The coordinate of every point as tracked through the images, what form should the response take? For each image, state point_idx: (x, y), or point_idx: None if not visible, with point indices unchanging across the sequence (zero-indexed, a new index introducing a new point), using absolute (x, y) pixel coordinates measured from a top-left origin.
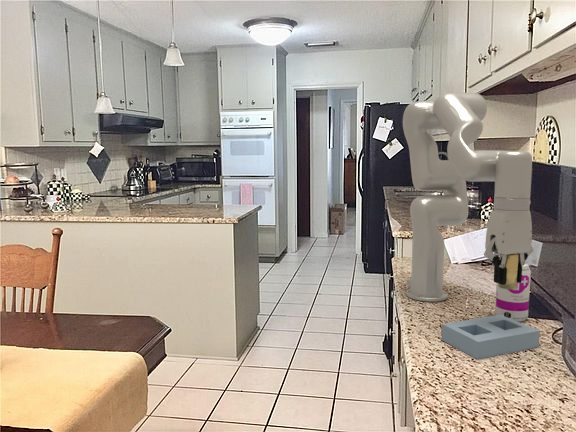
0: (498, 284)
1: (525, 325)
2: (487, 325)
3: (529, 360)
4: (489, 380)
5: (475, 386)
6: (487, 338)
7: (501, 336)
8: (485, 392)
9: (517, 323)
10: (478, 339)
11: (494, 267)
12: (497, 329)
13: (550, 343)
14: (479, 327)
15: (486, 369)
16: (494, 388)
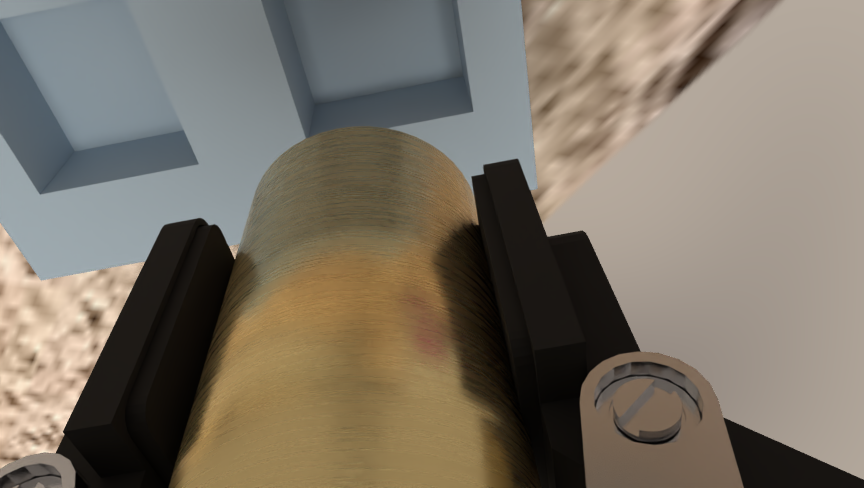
0: (248, 215)
1: (516, 90)
2: (217, 35)
3: None
4: (76, 378)
5: (3, 405)
6: (120, 246)
7: (226, 233)
8: (32, 436)
9: (489, 38)
10: (53, 252)
11: (85, 393)
12: (259, 125)
13: (629, 98)
14: (146, 34)
15: (96, 306)
16: None
